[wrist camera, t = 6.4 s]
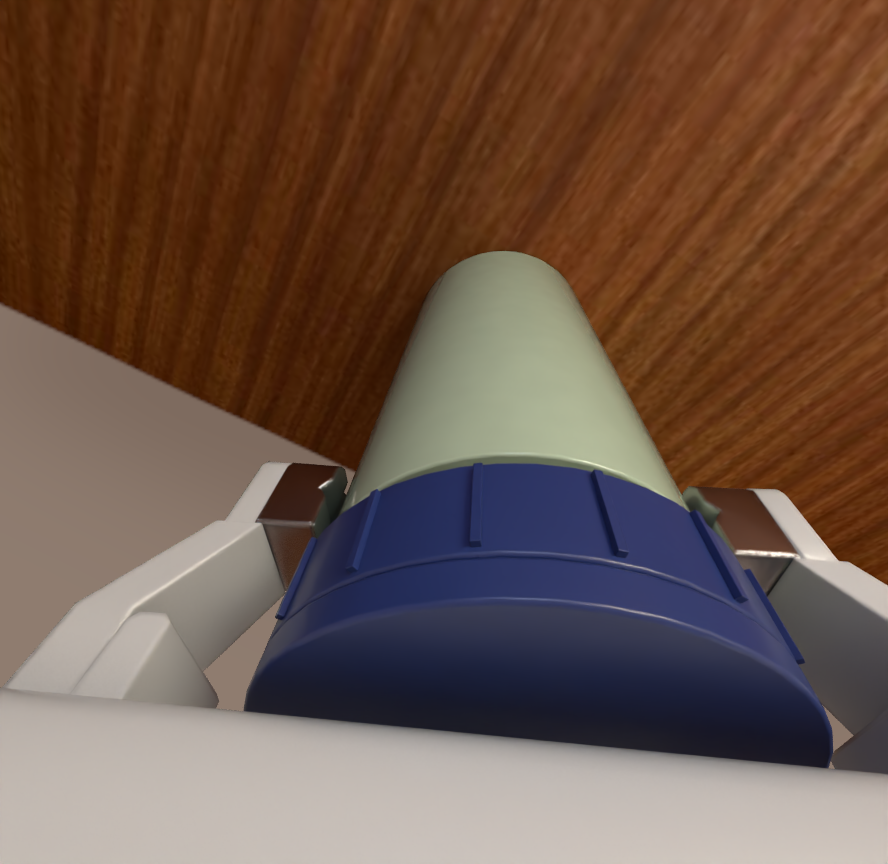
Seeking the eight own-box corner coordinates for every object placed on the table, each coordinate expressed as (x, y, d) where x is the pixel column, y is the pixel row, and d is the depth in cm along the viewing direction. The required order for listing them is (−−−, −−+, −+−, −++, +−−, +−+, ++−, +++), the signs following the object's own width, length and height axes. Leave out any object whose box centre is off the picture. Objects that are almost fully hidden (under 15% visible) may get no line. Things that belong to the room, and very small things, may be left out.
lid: (849, 478, 5) (1018, 639, 3) (668, 745, 9) (708, 879, 7) (251, 443, 5) (153, 569, 4) (328, 712, 9) (295, 830, 8)
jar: (568, 410, 19) (680, 806, 8) (420, 404, 19) (325, 769, 8) (596, 251, 15) (880, 564, 4) (413, 249, 16) (231, 524, 5)
